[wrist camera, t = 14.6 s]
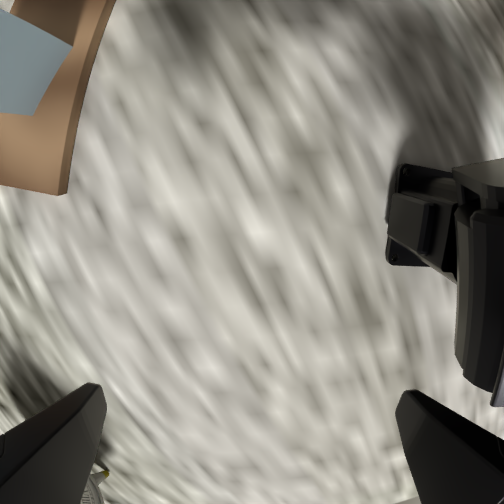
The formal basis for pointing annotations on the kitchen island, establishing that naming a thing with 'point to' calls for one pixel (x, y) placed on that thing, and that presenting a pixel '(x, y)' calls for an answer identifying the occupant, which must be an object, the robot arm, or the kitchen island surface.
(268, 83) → the kitchen island surface
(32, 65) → the slate-blue post
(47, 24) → the tan flat board
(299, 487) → the kitchen island surface
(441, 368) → the kitchen island surface
